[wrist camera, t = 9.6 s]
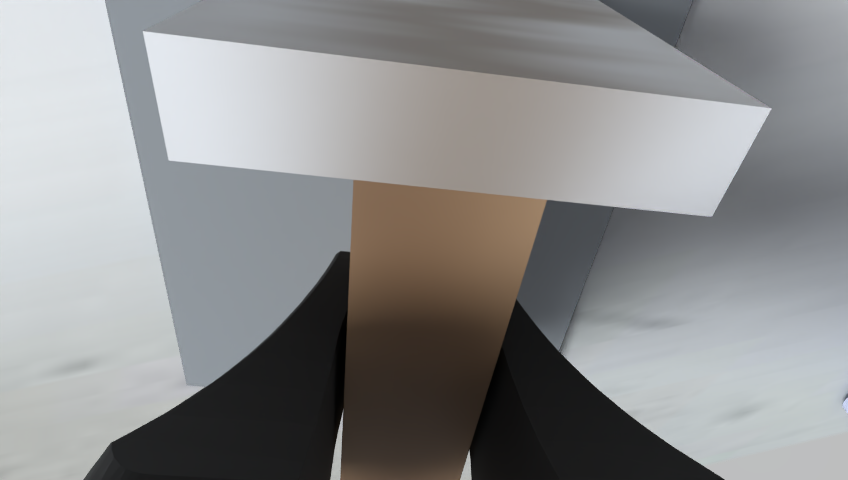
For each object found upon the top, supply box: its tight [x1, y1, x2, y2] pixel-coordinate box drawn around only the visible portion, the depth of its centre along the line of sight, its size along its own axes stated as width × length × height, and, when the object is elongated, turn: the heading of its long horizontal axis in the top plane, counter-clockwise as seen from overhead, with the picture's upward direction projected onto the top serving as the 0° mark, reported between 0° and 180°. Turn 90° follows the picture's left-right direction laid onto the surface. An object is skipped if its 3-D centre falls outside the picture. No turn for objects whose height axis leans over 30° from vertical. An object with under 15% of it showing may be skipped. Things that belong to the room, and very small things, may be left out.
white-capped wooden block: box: [143, 0, 772, 480], centre depth 12 cm, size 7×12×7 cm, turn 173°
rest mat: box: [105, 0, 693, 387], centre depth 16 cm, size 14×16×1 cm
